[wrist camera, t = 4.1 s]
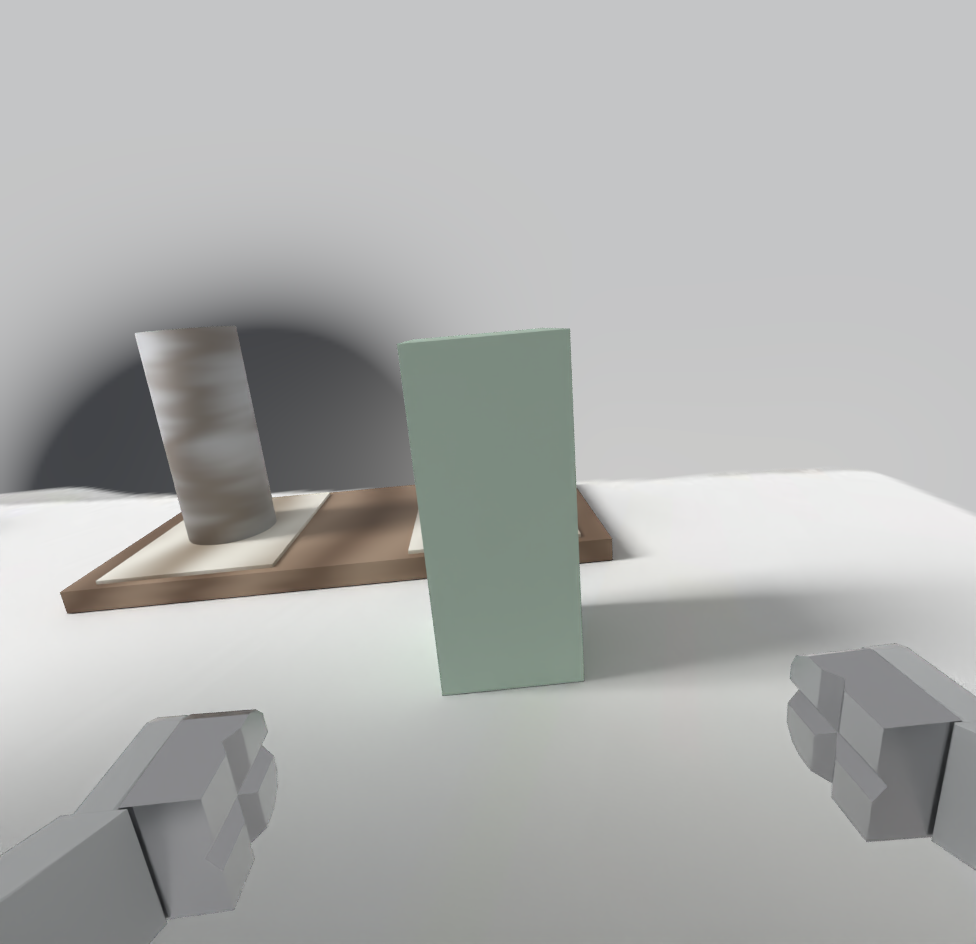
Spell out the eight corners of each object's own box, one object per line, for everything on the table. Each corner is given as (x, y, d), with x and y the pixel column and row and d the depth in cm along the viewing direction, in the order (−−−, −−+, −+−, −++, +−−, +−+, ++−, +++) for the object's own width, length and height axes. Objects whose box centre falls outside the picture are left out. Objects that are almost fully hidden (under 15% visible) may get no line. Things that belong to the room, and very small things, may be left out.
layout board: (67, 613, 26) (-27, 343, 23) (194, 520, 39) (147, 337, 35) (612, 559, 27) (606, 287, 23) (565, 485, 40) (556, 300, 36)
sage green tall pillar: (442, 695, 18) (397, 344, 15) (447, 618, 23) (413, 339, 20) (584, 681, 18) (569, 328, 15) (559, 607, 23) (544, 328, 20)
